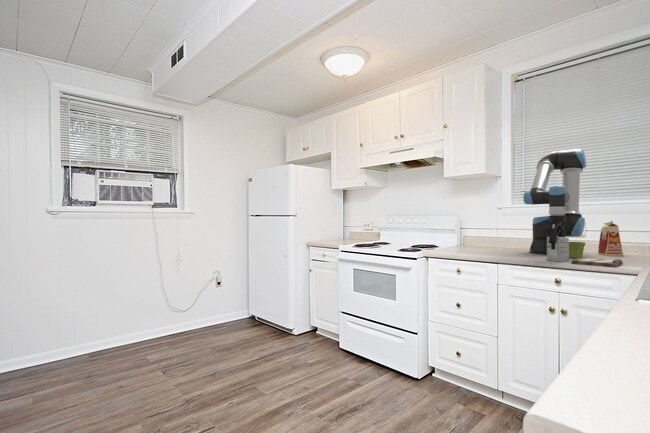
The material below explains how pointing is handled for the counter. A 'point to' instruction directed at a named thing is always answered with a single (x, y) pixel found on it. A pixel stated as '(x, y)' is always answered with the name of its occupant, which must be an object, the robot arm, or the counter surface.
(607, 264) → the brown square frame
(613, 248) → the milk carton
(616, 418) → the counter surface
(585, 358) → the counter surface
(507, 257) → the counter surface
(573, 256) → the plant pot
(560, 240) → the supplement box
